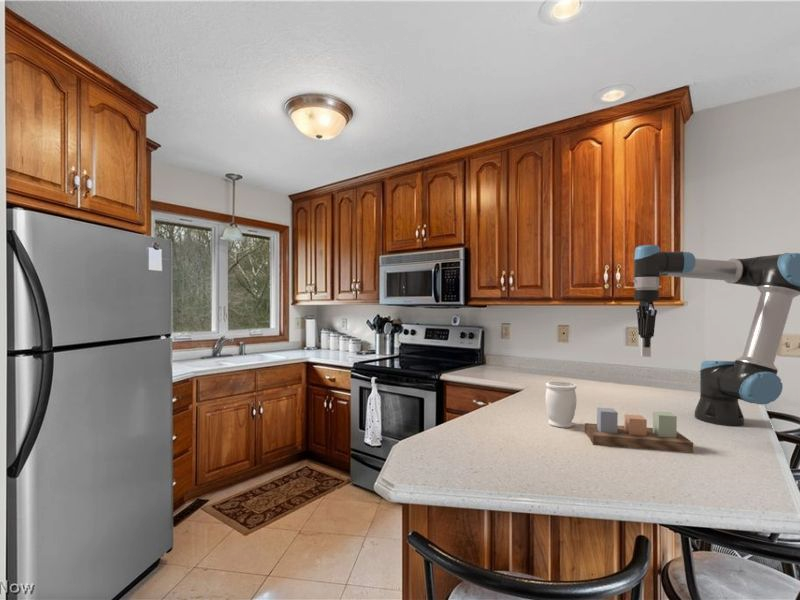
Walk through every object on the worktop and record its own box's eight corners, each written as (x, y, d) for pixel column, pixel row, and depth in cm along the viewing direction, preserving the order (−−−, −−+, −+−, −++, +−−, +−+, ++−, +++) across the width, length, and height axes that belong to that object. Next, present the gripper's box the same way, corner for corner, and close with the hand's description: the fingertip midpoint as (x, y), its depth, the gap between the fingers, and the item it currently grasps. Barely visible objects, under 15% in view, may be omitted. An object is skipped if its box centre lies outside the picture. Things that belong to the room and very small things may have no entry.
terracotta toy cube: (640, 438, 136) (641, 415, 136) (646, 443, 131) (646, 419, 131) (624, 436, 137) (624, 414, 137) (629, 441, 132) (629, 418, 132)
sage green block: (669, 435, 134) (670, 412, 134) (676, 440, 129) (676, 416, 129) (652, 433, 135) (653, 411, 135) (658, 438, 130) (658, 415, 130)
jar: (543, 426, 149) (543, 384, 149) (547, 418, 159) (547, 380, 158) (574, 430, 144) (575, 388, 144) (577, 423, 154) (577, 383, 154)
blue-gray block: (612, 430, 138) (613, 408, 138) (617, 435, 133) (617, 412, 133) (596, 429, 139) (597, 407, 139) (600, 434, 134) (600, 411, 134)
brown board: (674, 438, 137) (674, 429, 137) (693, 452, 125) (693, 442, 125) (584, 431, 144) (584, 423, 144) (593, 444, 131) (593, 435, 131)
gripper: (628, 289, 152) (628, 353, 152) (641, 289, 139) (640, 358, 140) (651, 289, 151) (650, 354, 151) (665, 289, 138) (665, 359, 138)
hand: (645, 356), depth 145 cm, fingers closed
